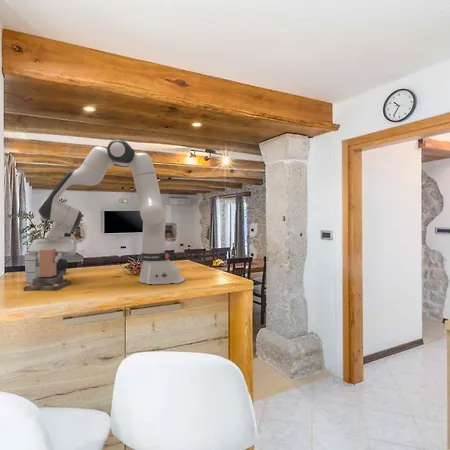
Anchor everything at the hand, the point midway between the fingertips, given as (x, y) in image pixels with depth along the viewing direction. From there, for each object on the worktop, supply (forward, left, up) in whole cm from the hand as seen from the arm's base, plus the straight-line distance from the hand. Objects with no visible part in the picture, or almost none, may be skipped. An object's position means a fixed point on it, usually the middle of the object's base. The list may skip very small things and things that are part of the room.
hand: (47, 262), depth 143 cm
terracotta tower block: (0, -1, -6) cm, 6 cm away
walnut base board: (0, -1, -11) cm, 11 cm away
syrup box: (+12, -13, -12) cm, 21 cm away
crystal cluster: (+11, -30, -12) cm, 34 cm away
